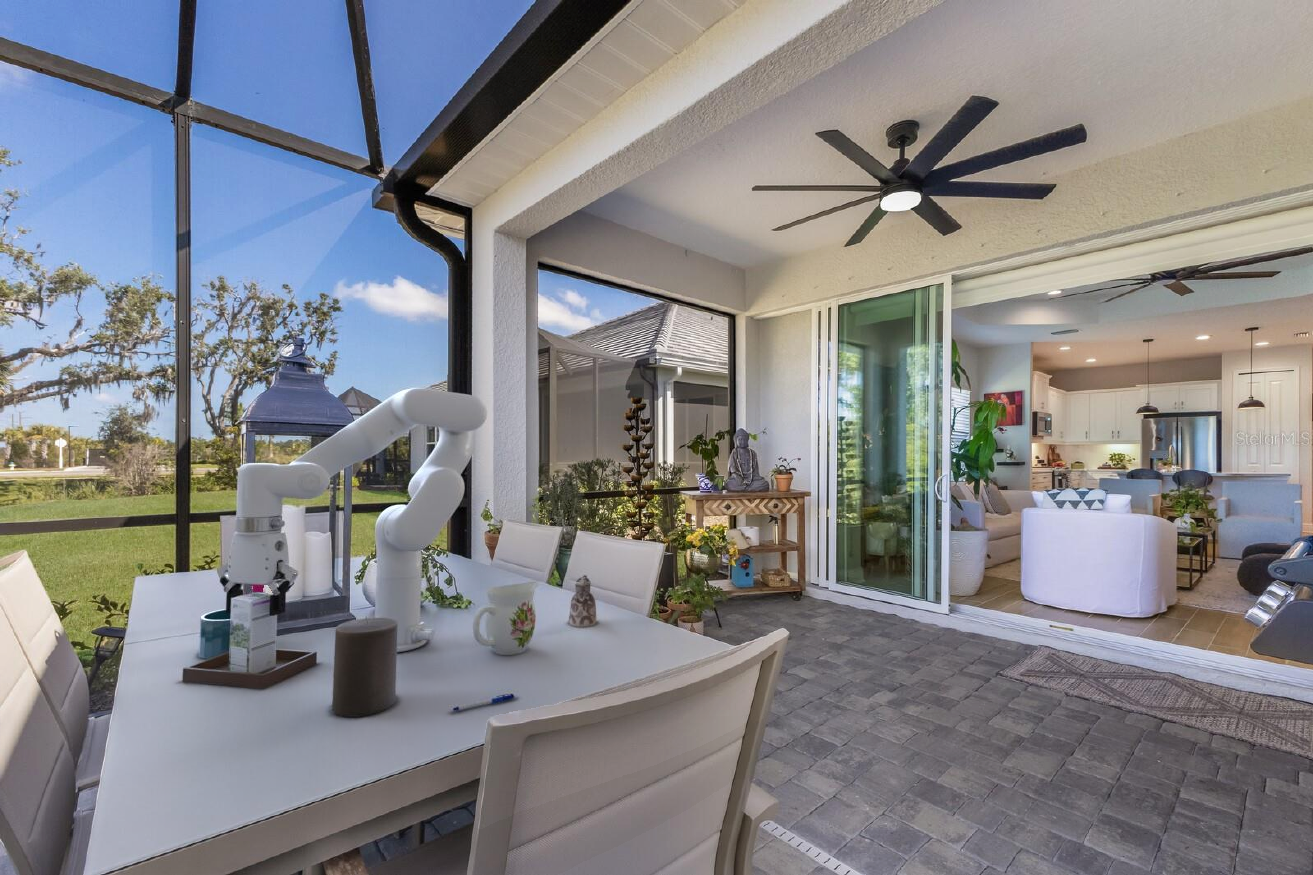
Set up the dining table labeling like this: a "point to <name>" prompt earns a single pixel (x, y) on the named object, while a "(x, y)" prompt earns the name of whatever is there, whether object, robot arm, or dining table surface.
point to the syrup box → (252, 634)
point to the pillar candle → (364, 666)
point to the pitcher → (508, 618)
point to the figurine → (582, 605)
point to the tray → (219, 673)
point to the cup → (214, 634)
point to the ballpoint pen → (485, 702)
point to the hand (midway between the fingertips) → (255, 612)
